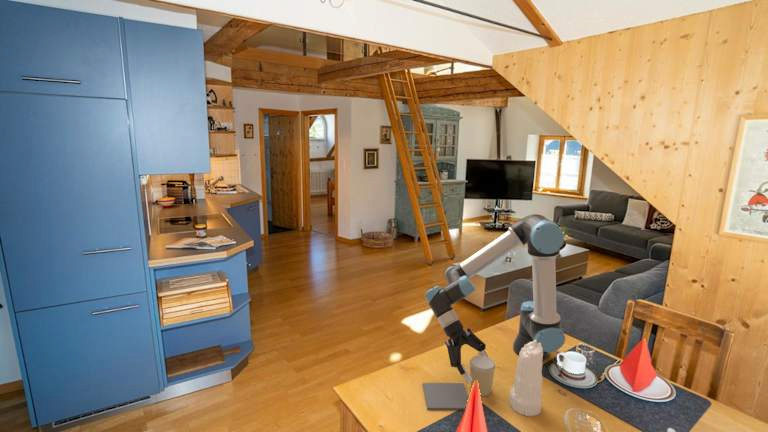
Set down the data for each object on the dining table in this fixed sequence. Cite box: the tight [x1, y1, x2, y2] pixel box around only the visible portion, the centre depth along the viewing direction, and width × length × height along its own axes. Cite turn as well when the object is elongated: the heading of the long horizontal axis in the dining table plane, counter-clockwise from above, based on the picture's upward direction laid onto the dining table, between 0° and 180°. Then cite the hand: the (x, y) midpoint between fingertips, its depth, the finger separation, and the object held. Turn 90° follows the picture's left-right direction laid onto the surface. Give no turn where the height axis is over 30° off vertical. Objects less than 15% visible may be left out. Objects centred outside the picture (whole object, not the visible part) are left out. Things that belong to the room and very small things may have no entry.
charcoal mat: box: [422, 382, 469, 411], centre depth 147 cm, size 16×14×1 cm
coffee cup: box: [469, 354, 496, 397], centre depth 151 cm, size 9×9×12 cm
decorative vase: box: [508, 340, 543, 417], centre depth 141 cm, size 11×11×25 cm
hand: (480, 374), depth 150 cm, fingers open, 13 cm apart
